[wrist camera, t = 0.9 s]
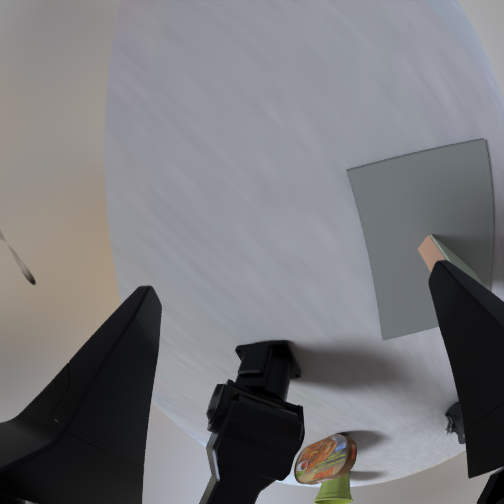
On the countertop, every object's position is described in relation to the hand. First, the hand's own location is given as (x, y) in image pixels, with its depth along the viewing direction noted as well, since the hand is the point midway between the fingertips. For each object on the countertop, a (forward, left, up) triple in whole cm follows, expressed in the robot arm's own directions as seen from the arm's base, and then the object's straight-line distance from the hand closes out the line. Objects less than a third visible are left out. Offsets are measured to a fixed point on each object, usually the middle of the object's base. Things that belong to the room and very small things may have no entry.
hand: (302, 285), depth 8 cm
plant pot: (-67, +10, -15) cm, 70 cm away
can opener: (-45, -17, -16) cm, 51 cm away
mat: (-9, -9, -15) cm, 20 cm away
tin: (-45, +9, -15) cm, 49 cm away
